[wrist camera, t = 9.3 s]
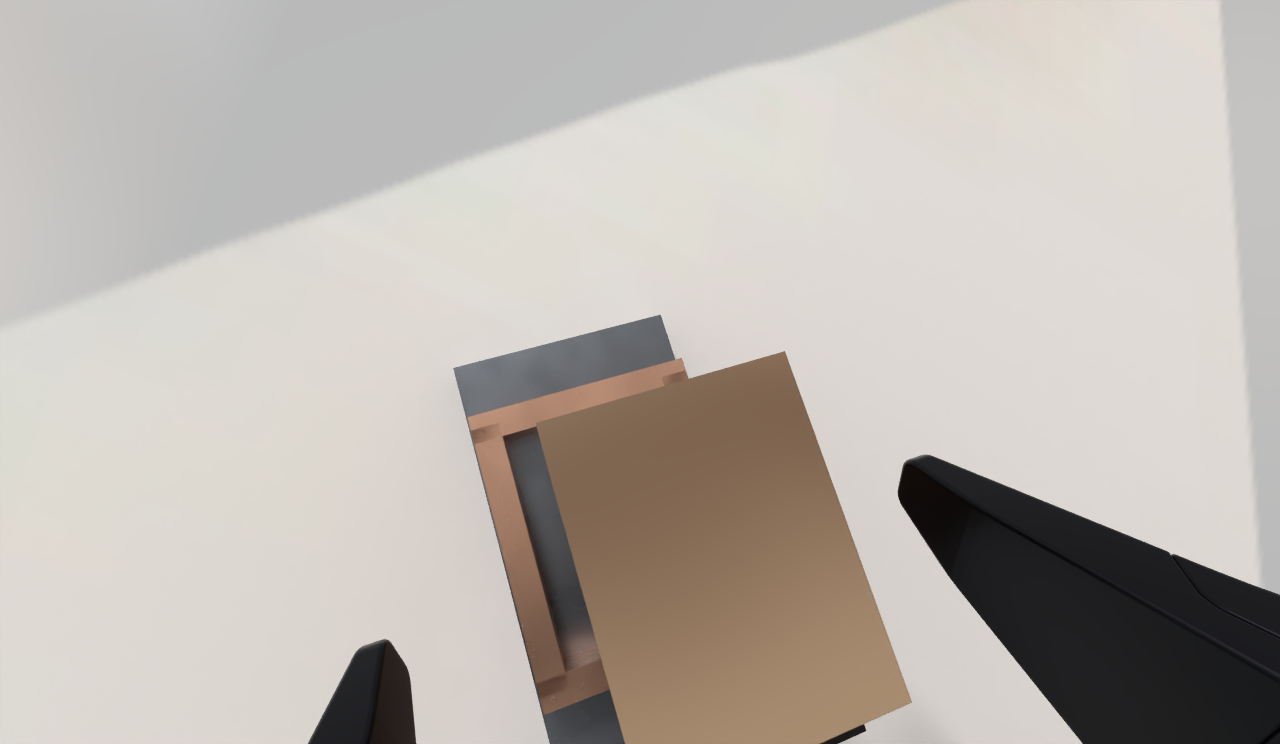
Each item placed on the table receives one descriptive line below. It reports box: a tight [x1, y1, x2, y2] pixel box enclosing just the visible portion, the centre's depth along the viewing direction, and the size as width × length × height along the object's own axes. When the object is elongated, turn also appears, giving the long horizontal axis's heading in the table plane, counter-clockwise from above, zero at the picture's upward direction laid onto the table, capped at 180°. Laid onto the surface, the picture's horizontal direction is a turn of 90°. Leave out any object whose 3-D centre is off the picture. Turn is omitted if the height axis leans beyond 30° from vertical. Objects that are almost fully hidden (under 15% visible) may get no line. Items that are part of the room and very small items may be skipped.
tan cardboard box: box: [536, 351, 912, 744], centre depth 12 cm, size 5×3×12 cm, turn 17°
